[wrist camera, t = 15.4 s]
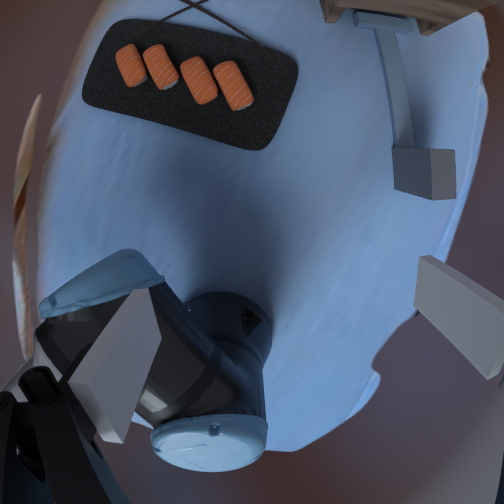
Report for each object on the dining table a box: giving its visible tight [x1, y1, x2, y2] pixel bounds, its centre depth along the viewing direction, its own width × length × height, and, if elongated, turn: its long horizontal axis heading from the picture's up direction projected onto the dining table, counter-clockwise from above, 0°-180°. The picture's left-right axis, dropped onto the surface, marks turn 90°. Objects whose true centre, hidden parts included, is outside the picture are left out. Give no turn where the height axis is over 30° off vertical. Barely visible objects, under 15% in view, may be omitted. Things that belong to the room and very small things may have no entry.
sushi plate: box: [82, 0, 298, 150], centre depth 29 cm, size 29×30×4 cm
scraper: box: [353, 12, 456, 200], centre depth 29 cm, size 27×9×10 cm, turn 7°
